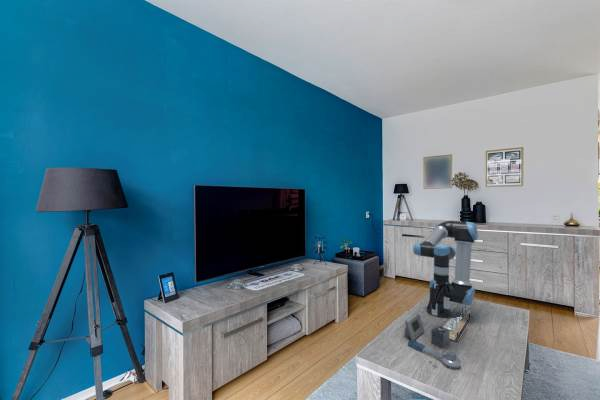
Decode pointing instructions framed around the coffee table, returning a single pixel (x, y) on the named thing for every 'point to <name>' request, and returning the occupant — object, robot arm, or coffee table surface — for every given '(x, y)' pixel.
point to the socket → (440, 337)
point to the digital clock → (414, 326)
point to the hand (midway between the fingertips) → (440, 311)
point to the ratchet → (438, 355)
